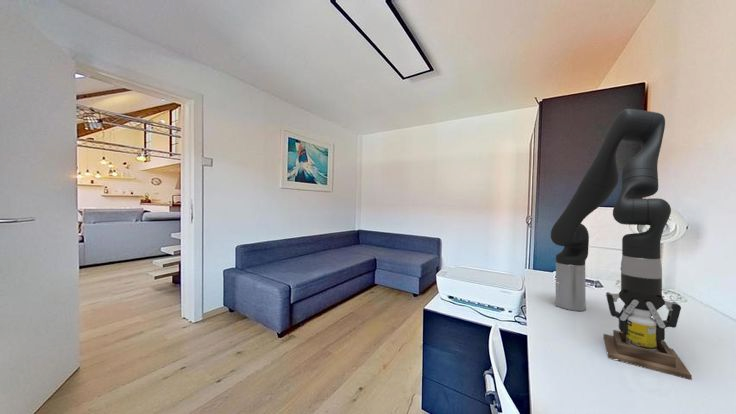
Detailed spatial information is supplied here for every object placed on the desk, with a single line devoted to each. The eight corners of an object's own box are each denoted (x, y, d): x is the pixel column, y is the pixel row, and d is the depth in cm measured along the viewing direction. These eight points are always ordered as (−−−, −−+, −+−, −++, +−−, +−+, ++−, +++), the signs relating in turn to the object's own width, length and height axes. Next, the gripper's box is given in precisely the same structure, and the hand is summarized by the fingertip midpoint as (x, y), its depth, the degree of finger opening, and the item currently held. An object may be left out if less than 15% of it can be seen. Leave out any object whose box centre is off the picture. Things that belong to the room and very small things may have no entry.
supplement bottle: (619, 341, 72) (619, 304, 72) (638, 340, 73) (638, 303, 73) (643, 352, 67) (643, 312, 67) (663, 351, 67) (663, 311, 67)
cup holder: (608, 358, 68) (608, 344, 68) (603, 337, 79) (603, 325, 79) (691, 379, 60) (691, 364, 60) (673, 352, 71) (672, 339, 71)
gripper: (605, 272, 71) (605, 334, 71) (687, 281, 62) (687, 352, 62) (603, 267, 77) (603, 324, 77) (677, 274, 68) (677, 339, 68)
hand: (640, 336), depth 70 cm, fingers closed on supplement bottle, 5 cm apart
